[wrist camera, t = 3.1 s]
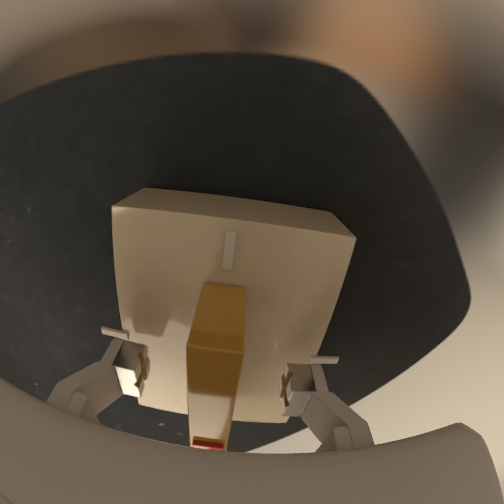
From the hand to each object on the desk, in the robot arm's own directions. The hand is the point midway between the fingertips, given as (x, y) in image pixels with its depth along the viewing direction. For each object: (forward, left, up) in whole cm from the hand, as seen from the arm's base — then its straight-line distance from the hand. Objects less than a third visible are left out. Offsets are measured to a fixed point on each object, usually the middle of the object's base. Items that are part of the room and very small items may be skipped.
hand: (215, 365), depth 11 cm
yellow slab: (0, 0, -1) cm, 1 cm away
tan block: (0, 0, -4) cm, 4 cm away
